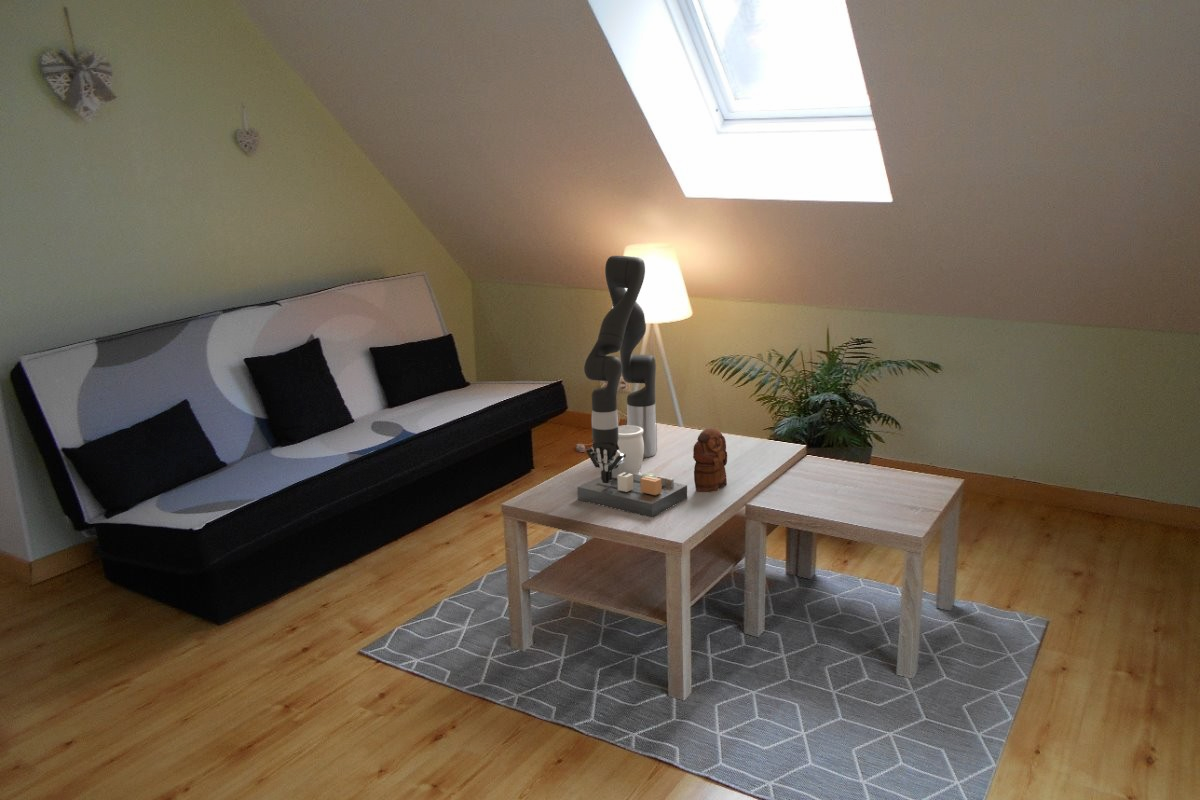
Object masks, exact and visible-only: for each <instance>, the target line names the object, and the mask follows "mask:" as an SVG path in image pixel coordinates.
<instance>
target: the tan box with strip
mask: <svg viewBox="0 0 1200 800" xmlns="http://www.w3.org/2000/svg"><path fill="white" fill-rule="evenodd" d="M641 492H643V493H647V494H652V495H657V494H659V493H661V492H662V485H661V479H660V478H657V477H656V478H655V477H651V476H645V477H643V478H641Z"/></svg>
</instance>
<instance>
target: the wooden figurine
mask: <svg viewBox="0 0 1200 800" xmlns="http://www.w3.org/2000/svg"><path fill="white" fill-rule="evenodd" d="M692 449H693V452H692V453H693V456H692V458H693V460H694V461H695V464H694V466H693V467H694V469H693V478H694V479H693V480H694V481H693V482H694V485H695V491H696V492H702V493H711V492H712V493H713V492H716V491H719V490H720V489H722V488H724V485H727V484H728V483H727V471H726V467H725V466H726V465H727V463H728V452H727V443H726V438H725V436H724V435H723V434H722V432H721V431H720V430H718V429H717V428H712V427H711V428H706V429H703V431H701V432H700V434H699V435H698V437H697V441H696V442H695V443H694V446H693V448H692Z"/></svg>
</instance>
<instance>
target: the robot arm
mask: <svg viewBox="0 0 1200 800" xmlns="http://www.w3.org/2000/svg"><path fill="white" fill-rule="evenodd" d="M604 268H605V269H604V272H605V273H604V274H605V282H606V285H607V289H608V292H609V296H610V298H611V303H612V308H611V309H609V311H608V312H607V313H606V315H605V316H604V317H603V320H602V322H601V325H600V329H599V334H598V337H597V340H596V342H595V344H594V346H593V347H592V350H590V353H589V354H588V356H587V358H586V359H585V362H584V368H583V370H584V374H585V376H586V378H587V379H589V380H591V381H599V382H600V381H602V382H607V384H606V386H604V387H603V386H602V387H598V388H595V389H593V391H592V393H591V409H592V410H591V439H592V441H593V442H592V446H591V447H590V448H587V449H586V450H585V453H586V454H587V455H588V458H589V459H590V460H591V462H592V464H593V465H594V467H595V468H598V469H599V471H600V476H601V479H602V482H603V483H610V482H611V481H612V470H614V469H616V468H618V466H619V465H620V464H621V462H622V461H623V460H624V458H625V457H626V454H624V453H623V454H622V453H621V452H620V451H619V446H618V439H619V437H618V426H619V416H618V414H619V413H618V406H617V405H618V403H617V402H618V400H617V397H618V396H617V395H618V390H619V384H620V380H621V378H622V379H623V381H624V382H625V383H626V384H627V383H628V384H644V387H642V388H641V389H638V390H635V391H633V392H630V393H628V394H627V396H626V412H627V414H626V415H627V418H626V419H627V421H626V422H627V425H632V426H639V427H641V428H643V434H642V437H643V443H644V454H643V458H649V457H653V456H655V455H656V454H657V452H658V425H657V423H656V420H657V419H656V371H657V370H656V369H657V367H656V366H657V365H656V364H657V363H656V359H655V357H654V356H653V355H652V354H632V353H633V351H634V350H635V348H636V347H637V346H638V344H640V343H641V341H642V339H643V338H644V336H645V334H646V331H647V325H646V318H645V313H644V310H643V309H642V307H641V306H640V305H639V303H638V302H637V299H638V296H639V295H640V293H641V292H640V291H641V289H642V285H643V284H644V280H645V275H646V265H645V261H644V259H643V258H642V257H641V258H640V257H638V256H637V257H635V256H627V255H612V256H610V257H608V258H607V260H606V263H605V267H604ZM618 352H619V354H620V358H619V357H617V356H614V355H613V356H612V355H610V354H614V353H618ZM609 355H610V356H609ZM615 455H616V457H615ZM614 457H615V461H614Z"/></svg>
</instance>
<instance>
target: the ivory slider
mask: <svg viewBox="0 0 1200 800" xmlns="http://www.w3.org/2000/svg"><path fill="white" fill-rule="evenodd" d="M617 477H618V490H620V491H625V492H628V491H630V490H632V489H633V474H630V473H625V472H623V473H621V474H619V475H617Z"/></svg>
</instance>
